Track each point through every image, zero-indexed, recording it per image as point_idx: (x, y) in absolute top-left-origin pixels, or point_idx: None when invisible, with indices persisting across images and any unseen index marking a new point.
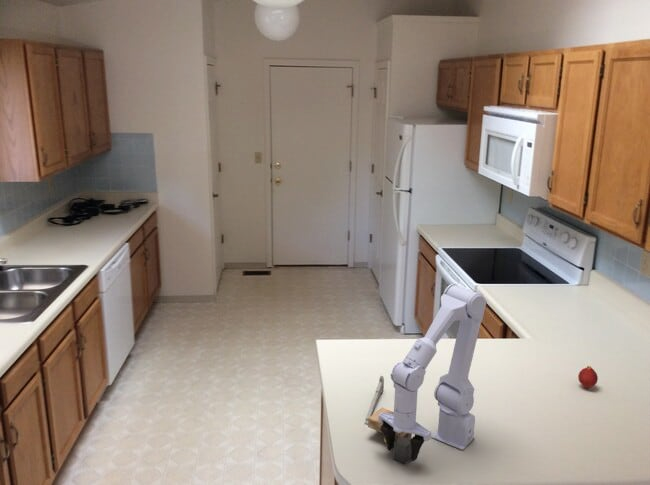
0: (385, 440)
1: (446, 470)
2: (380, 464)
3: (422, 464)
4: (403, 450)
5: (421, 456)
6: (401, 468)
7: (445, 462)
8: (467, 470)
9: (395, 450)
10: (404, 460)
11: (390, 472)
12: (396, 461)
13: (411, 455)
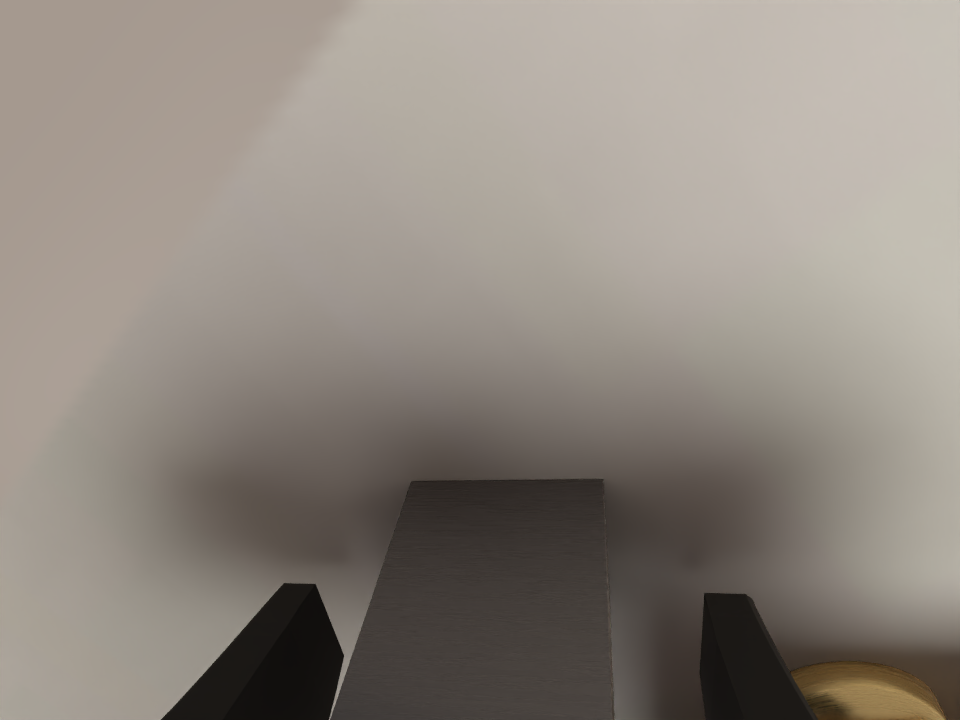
0: (914, 716)
1: (93, 633)
2: (709, 287)
3: None
4: (377, 705)
5: None
6: (395, 412)
7: None
8: (20, 701)
9: (562, 641)
10: (399, 540)
11: (442, 232)
12: (542, 483)
13: (255, 663)
